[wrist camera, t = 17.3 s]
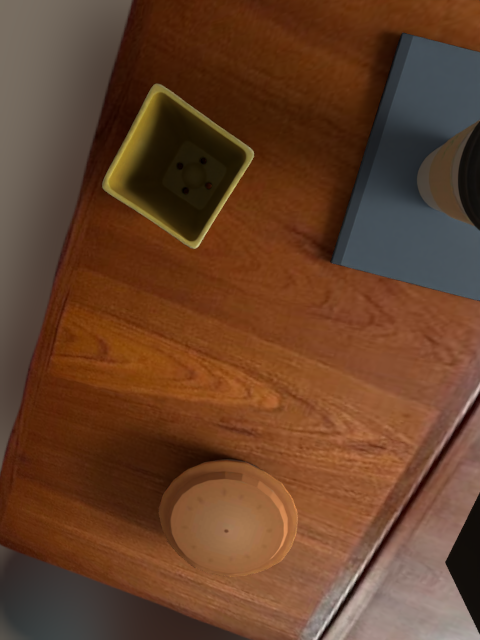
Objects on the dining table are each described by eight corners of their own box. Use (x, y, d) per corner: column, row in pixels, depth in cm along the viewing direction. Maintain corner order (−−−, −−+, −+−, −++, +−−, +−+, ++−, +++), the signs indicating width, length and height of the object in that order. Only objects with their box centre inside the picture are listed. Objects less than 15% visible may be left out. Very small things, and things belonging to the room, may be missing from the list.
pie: (247, 418, 47) (245, 444, 42) (320, 517, 50) (326, 552, 45) (141, 480, 50) (127, 510, 45) (215, 569, 53) (209, 606, 48)
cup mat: (400, 35, 35) (402, 32, 35) (582, 81, 35) (587, 79, 35) (330, 262, 41) (331, 262, 41) (486, 302, 41) (490, 303, 41)
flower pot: (260, 162, 39) (257, 152, 30) (210, 240, 41) (194, 251, 33) (181, 106, 38) (154, 79, 30) (135, 189, 41) (98, 187, 32)
